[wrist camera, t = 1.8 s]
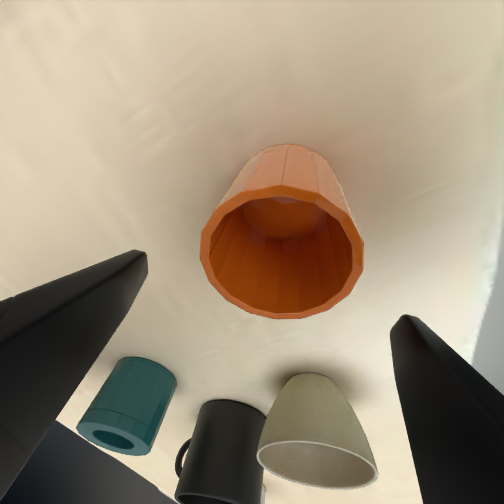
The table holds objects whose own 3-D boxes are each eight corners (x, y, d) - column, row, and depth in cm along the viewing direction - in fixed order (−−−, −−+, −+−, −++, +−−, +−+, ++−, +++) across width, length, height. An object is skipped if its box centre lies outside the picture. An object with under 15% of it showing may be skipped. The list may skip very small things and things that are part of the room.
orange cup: (318, 250, 17) (328, 332, 12) (229, 229, 18) (196, 300, 12) (356, 157, 14) (397, 210, 8) (243, 132, 14) (205, 166, 8)
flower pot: (367, 362, 23) (390, 455, 17) (353, 412, 29) (367, 497, 23) (262, 353, 25) (251, 435, 19) (267, 402, 31) (260, 478, 25)
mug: (173, 401, 34) (138, 488, 27) (252, 397, 30) (236, 498, 23) (205, 432, 39) (183, 514, 31) (277, 432, 35) (272, 526, 27)
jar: (176, 397, 34) (151, 461, 28) (121, 383, 34) (85, 444, 28) (176, 366, 29) (146, 435, 23) (113, 350, 29) (67, 415, 24)
